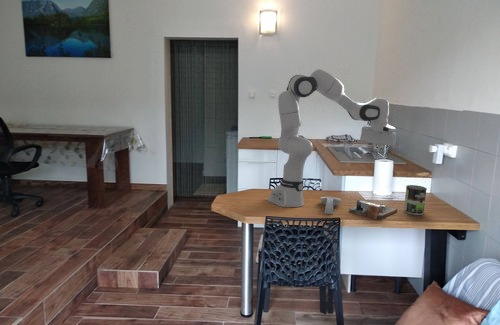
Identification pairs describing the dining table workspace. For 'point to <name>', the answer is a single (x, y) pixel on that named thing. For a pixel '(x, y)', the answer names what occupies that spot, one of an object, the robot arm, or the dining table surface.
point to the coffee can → (415, 199)
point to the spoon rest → (330, 203)
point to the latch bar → (365, 205)
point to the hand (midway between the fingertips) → (376, 151)
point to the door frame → (373, 211)
